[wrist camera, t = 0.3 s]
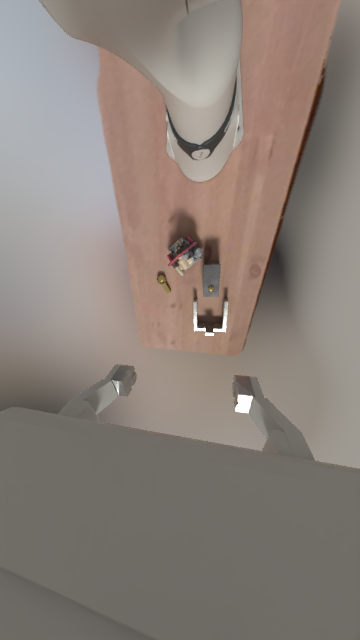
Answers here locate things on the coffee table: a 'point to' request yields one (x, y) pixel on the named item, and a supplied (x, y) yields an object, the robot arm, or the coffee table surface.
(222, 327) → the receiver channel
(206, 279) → the block
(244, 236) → the coffee table surface
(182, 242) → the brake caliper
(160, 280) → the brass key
